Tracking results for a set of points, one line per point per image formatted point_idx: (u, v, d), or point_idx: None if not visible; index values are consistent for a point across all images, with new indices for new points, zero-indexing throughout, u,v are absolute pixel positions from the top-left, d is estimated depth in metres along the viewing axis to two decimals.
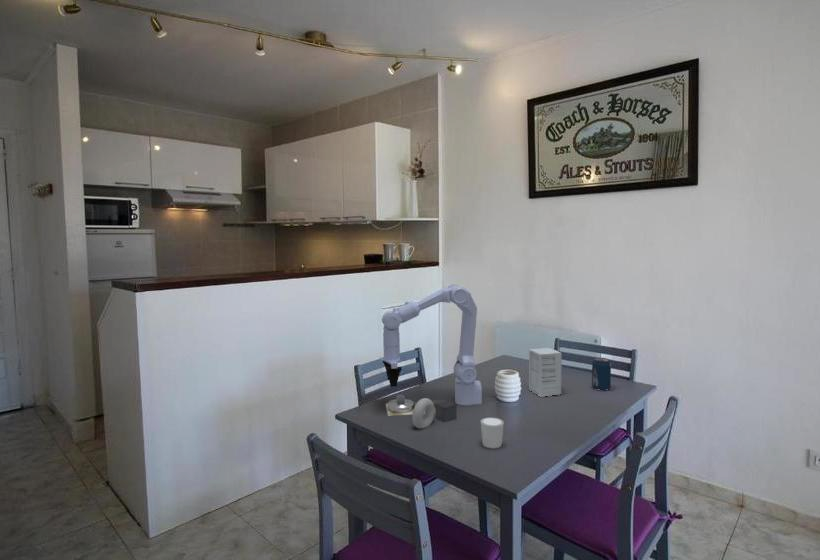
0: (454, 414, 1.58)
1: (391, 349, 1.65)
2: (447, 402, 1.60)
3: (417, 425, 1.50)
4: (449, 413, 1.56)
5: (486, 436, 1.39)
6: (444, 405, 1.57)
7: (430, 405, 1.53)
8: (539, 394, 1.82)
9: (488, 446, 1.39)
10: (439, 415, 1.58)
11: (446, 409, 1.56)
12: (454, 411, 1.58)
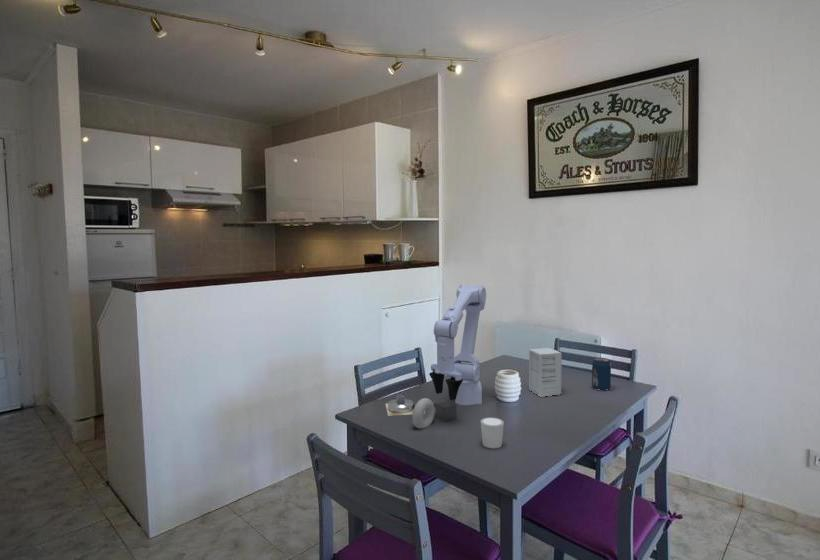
0: (454, 414, 1.58)
1: (449, 360, 1.55)
2: (447, 402, 1.60)
3: (417, 425, 1.50)
4: (449, 413, 1.56)
5: (486, 436, 1.39)
6: (444, 405, 1.57)
7: (430, 405, 1.53)
8: (539, 394, 1.82)
9: (488, 446, 1.39)
10: (439, 415, 1.58)
11: (447, 409, 1.56)
12: (454, 411, 1.58)
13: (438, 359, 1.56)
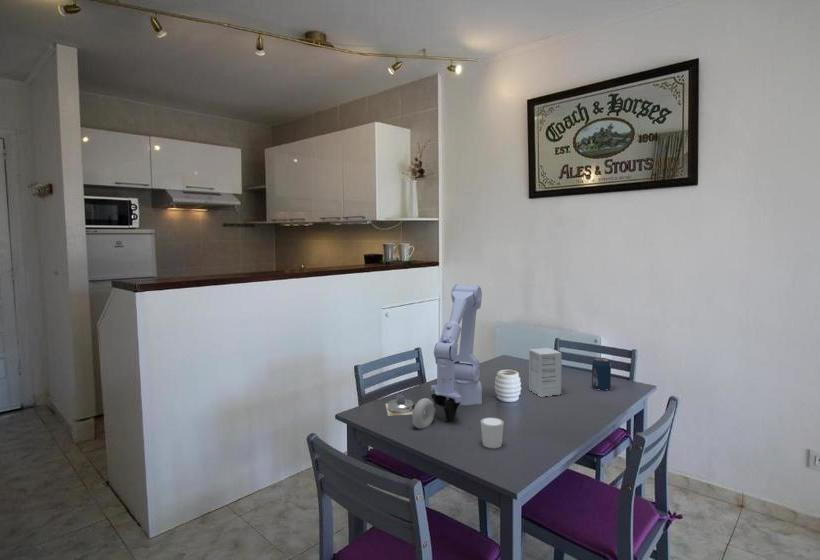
0: None
1: (449, 382, 1.55)
2: None
3: (417, 425, 1.50)
4: None
5: (486, 436, 1.39)
6: (444, 405, 1.57)
7: (430, 405, 1.53)
8: (539, 394, 1.82)
9: (488, 446, 1.39)
10: (439, 415, 1.58)
11: None
12: None
13: (438, 381, 1.56)
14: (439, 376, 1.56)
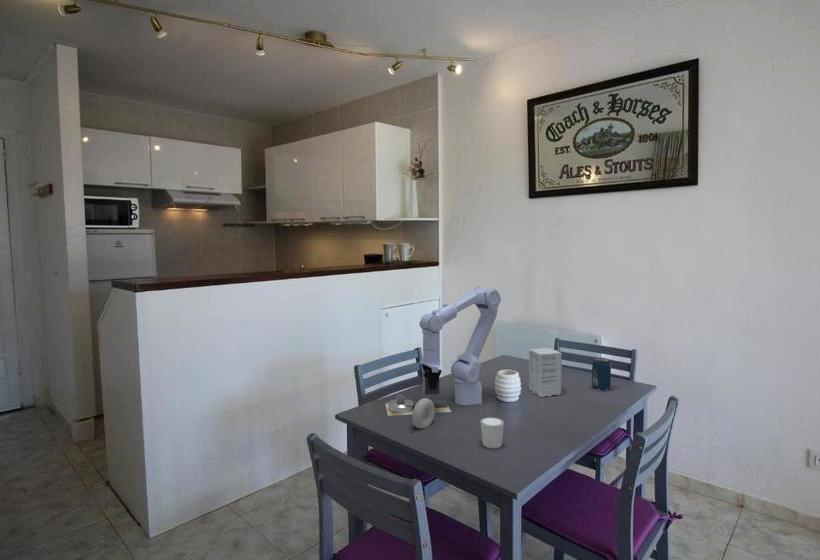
0: None
1: (431, 352, 1.62)
2: None
3: (417, 425, 1.50)
4: None
5: (486, 436, 1.39)
6: None
7: (430, 405, 1.53)
8: (539, 394, 1.82)
9: (488, 446, 1.39)
10: (423, 385, 1.66)
11: (427, 379, 1.63)
12: None
13: (423, 350, 1.64)
14: (423, 346, 1.64)
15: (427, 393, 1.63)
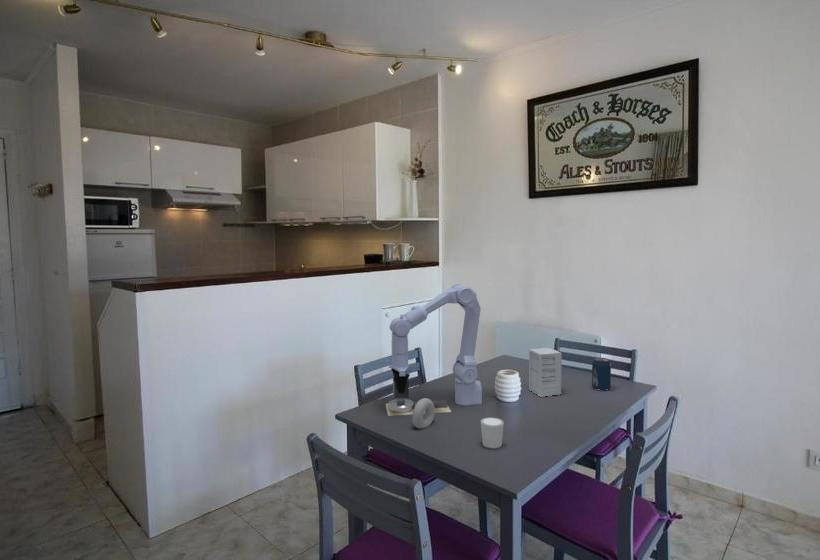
0: (406, 389, 1.65)
1: (399, 356, 1.63)
2: None
3: (417, 425, 1.50)
4: None
5: (486, 436, 1.39)
6: None
7: (430, 405, 1.53)
8: (539, 394, 1.82)
9: (488, 446, 1.39)
10: (393, 388, 1.67)
11: None
12: (406, 387, 1.65)
13: (392, 354, 1.66)
14: None
15: (396, 397, 1.65)
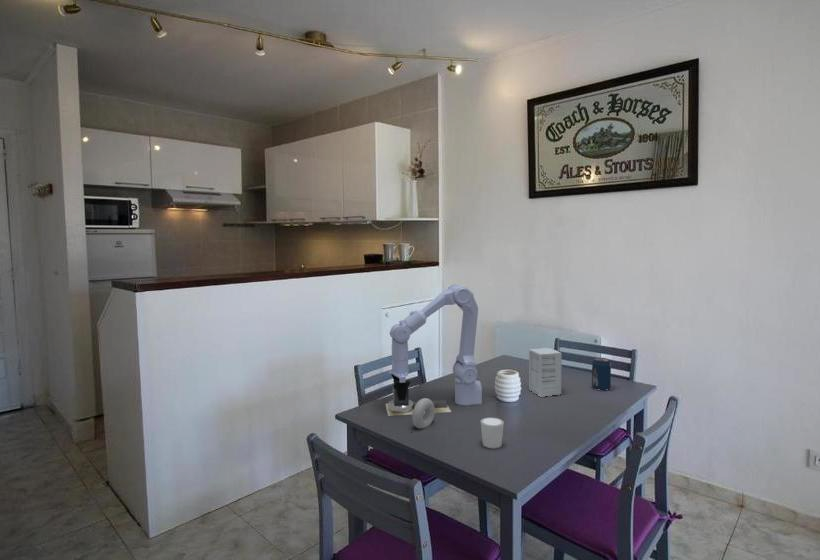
0: (406, 397, 1.65)
1: (399, 362, 1.64)
2: None
3: (417, 425, 1.50)
4: None
5: (486, 436, 1.39)
6: None
7: (430, 405, 1.53)
8: (539, 394, 1.82)
9: (488, 446, 1.39)
10: (393, 396, 1.68)
11: None
12: (406, 394, 1.65)
13: (392, 360, 1.66)
14: None
15: (396, 404, 1.65)
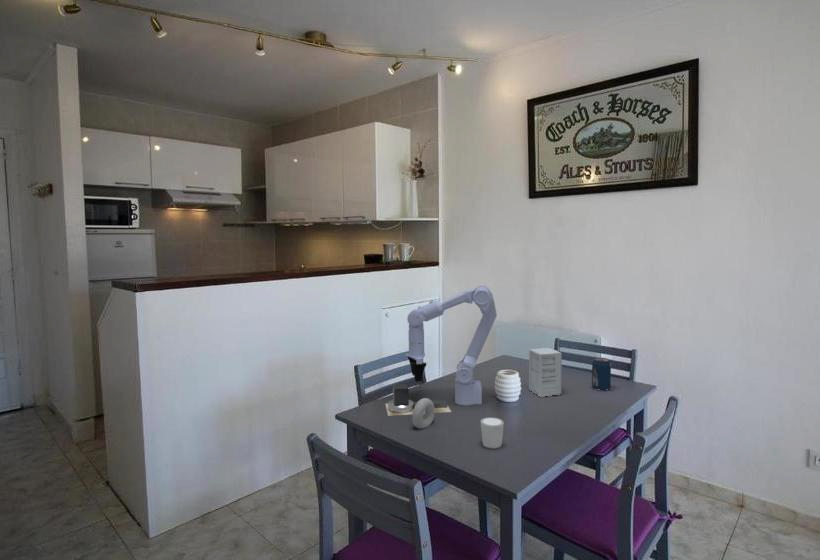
0: (406, 397, 1.65)
1: (416, 345, 1.72)
2: (403, 385, 1.68)
3: (417, 425, 1.50)
4: (400, 395, 1.65)
5: (486, 436, 1.39)
6: (397, 387, 1.66)
7: (430, 405, 1.53)
8: (539, 394, 1.82)
9: (488, 446, 1.39)
10: (393, 396, 1.68)
11: (397, 391, 1.65)
12: (406, 394, 1.65)
13: None
14: None
15: (396, 404, 1.65)
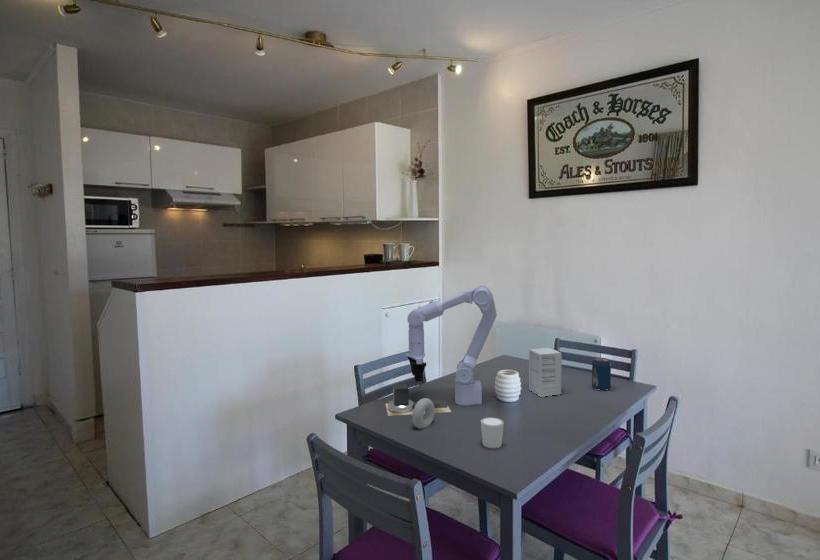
0: (406, 397, 1.65)
1: (416, 345, 1.72)
2: (403, 385, 1.68)
3: (417, 425, 1.50)
4: (400, 395, 1.65)
5: (486, 436, 1.39)
6: (397, 387, 1.66)
7: (430, 405, 1.53)
8: (539, 394, 1.82)
9: (488, 446, 1.39)
10: (393, 396, 1.68)
11: (397, 391, 1.65)
12: (406, 394, 1.65)
13: None
14: None
15: (396, 404, 1.65)
